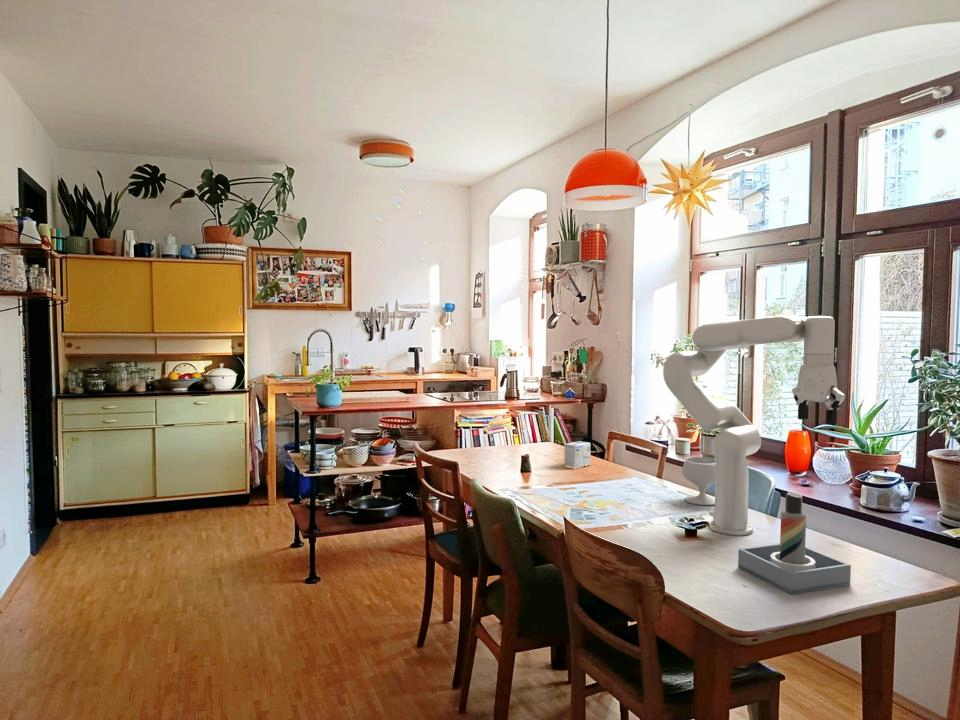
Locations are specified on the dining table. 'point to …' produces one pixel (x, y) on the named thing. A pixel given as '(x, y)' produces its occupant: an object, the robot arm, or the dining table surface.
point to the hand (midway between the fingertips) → (816, 421)
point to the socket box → (794, 569)
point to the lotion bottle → (793, 530)
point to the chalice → (700, 478)
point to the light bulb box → (577, 454)
